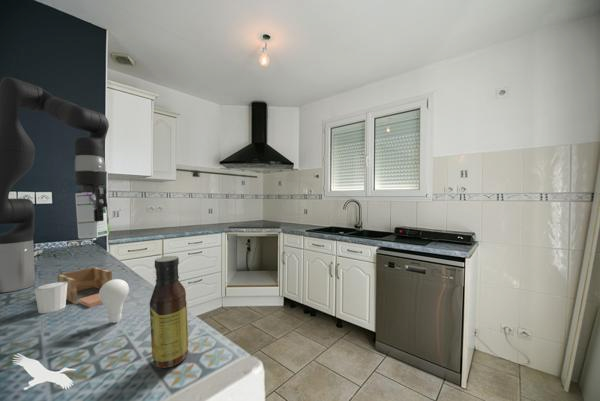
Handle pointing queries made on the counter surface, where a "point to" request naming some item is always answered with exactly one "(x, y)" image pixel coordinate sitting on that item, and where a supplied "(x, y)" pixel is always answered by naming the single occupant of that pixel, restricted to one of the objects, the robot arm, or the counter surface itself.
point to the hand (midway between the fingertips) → (93, 221)
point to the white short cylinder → (51, 297)
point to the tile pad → (91, 300)
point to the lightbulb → (114, 298)
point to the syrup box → (90, 218)
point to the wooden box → (84, 280)
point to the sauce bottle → (168, 315)
